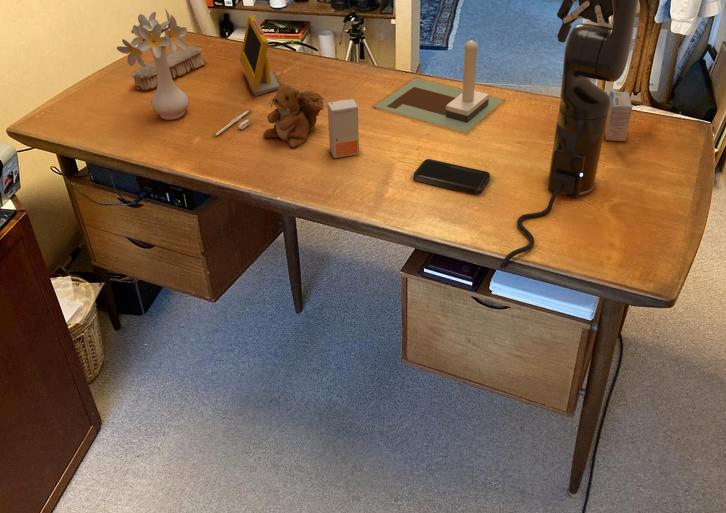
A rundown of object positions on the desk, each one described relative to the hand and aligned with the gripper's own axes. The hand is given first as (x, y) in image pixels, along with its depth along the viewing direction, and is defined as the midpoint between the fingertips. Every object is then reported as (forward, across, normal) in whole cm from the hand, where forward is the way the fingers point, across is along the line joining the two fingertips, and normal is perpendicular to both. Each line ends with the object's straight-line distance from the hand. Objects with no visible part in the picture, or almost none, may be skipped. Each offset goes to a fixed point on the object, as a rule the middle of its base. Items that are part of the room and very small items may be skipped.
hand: (577, 49), depth 150 cm
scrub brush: (+24, -22, +3) cm, 32 cm away
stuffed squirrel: (+39, -44, -30) cm, 66 cm away
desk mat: (+25, -30, +2) cm, 39 cm away
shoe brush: (+45, -96, -30) cm, 110 cm away
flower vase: (+47, -74, -43) cm, 98 cm away
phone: (+31, -4, -22) cm, 39 cm away
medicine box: (+16, +10, +15) cm, 24 cm away
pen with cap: (+43, -58, -36) cm, 80 cm away
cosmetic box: (+37, -29, -29) cm, 55 cm away
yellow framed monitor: (+38, -73, -18) cm, 84 cm away
